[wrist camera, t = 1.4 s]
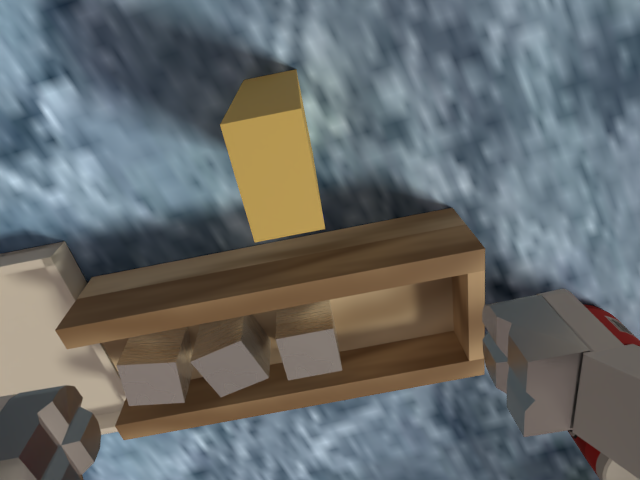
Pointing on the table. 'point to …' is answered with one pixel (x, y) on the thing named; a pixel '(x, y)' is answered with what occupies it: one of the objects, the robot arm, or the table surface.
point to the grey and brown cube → (156, 367)
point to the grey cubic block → (308, 340)
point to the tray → (51, 333)
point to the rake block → (273, 157)
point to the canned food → (606, 469)
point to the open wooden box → (299, 289)
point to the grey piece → (232, 354)
